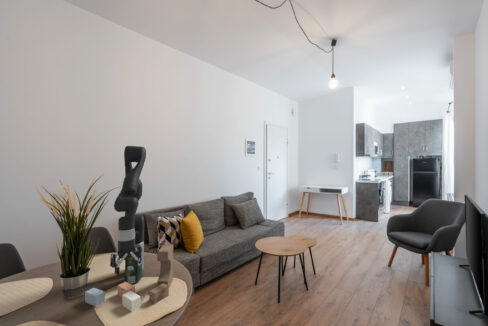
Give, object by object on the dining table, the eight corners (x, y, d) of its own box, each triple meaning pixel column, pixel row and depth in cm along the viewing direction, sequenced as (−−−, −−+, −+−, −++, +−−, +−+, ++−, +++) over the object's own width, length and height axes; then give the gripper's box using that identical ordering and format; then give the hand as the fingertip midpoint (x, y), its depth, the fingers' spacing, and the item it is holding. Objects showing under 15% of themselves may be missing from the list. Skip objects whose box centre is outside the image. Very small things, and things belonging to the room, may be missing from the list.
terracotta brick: (117, 295, 113) (117, 285, 112) (125, 291, 116) (125, 281, 116) (126, 300, 108) (126, 290, 108) (134, 296, 112) (134, 286, 112)
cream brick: (122, 305, 105) (122, 294, 105) (130, 301, 108) (130, 290, 108) (132, 312, 100) (132, 300, 100) (140, 307, 103) (140, 296, 103)
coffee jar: (130, 276, 131) (130, 243, 131) (144, 275, 131) (144, 243, 131) (121, 285, 122) (121, 250, 121) (136, 285, 122) (136, 250, 122)
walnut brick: (155, 304, 106) (155, 293, 106) (149, 301, 108) (149, 291, 108) (168, 295, 113) (168, 285, 113) (163, 293, 115) (163, 283, 115)
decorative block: (167, 290, 117) (167, 251, 116) (156, 290, 116) (156, 251, 116) (173, 279, 128) (173, 243, 127) (163, 279, 127) (163, 243, 127)
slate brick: (85, 302, 107) (85, 291, 107) (93, 297, 110) (93, 287, 110) (96, 307, 103) (96, 296, 103) (104, 302, 107) (104, 291, 107)
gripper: (136, 233, 120) (136, 263, 120) (107, 240, 108) (107, 274, 108) (144, 235, 116) (144, 267, 116) (115, 243, 104) (115, 279, 104)
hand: (126, 271), depth 112 cm, fingers open, 8 cm apart
